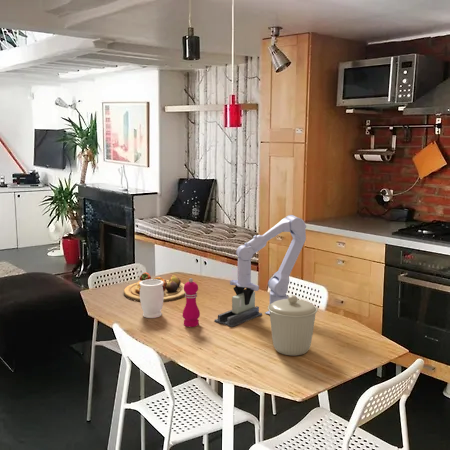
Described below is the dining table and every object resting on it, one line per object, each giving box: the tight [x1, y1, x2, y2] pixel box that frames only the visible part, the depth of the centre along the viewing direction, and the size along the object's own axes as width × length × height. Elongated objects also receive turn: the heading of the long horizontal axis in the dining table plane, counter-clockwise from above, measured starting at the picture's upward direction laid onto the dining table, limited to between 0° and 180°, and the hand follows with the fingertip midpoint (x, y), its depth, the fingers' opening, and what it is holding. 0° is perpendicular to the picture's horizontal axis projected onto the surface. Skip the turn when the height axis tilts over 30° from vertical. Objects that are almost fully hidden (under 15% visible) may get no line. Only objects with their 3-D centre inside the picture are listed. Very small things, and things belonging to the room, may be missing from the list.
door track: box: [214, 305, 263, 328], centre depth 241 cm, size 20×10×3 cm, turn 139°
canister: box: [267, 294, 319, 357], centre depth 205 cm, size 18×18×21 cm
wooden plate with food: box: [123, 271, 186, 303], centre depth 278 cm, size 32×32×8 cm
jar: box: [140, 278, 164, 319], centre depth 244 cm, size 11×10×15 cm
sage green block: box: [231, 291, 256, 314], centre depth 243 cm, size 12×4×7 cm, turn 139°
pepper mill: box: [182, 277, 201, 328], centre depth 232 cm, size 7×7×20 cm
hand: (243, 303), depth 243 cm, fingers closed on sage green block, 3 cm apart
